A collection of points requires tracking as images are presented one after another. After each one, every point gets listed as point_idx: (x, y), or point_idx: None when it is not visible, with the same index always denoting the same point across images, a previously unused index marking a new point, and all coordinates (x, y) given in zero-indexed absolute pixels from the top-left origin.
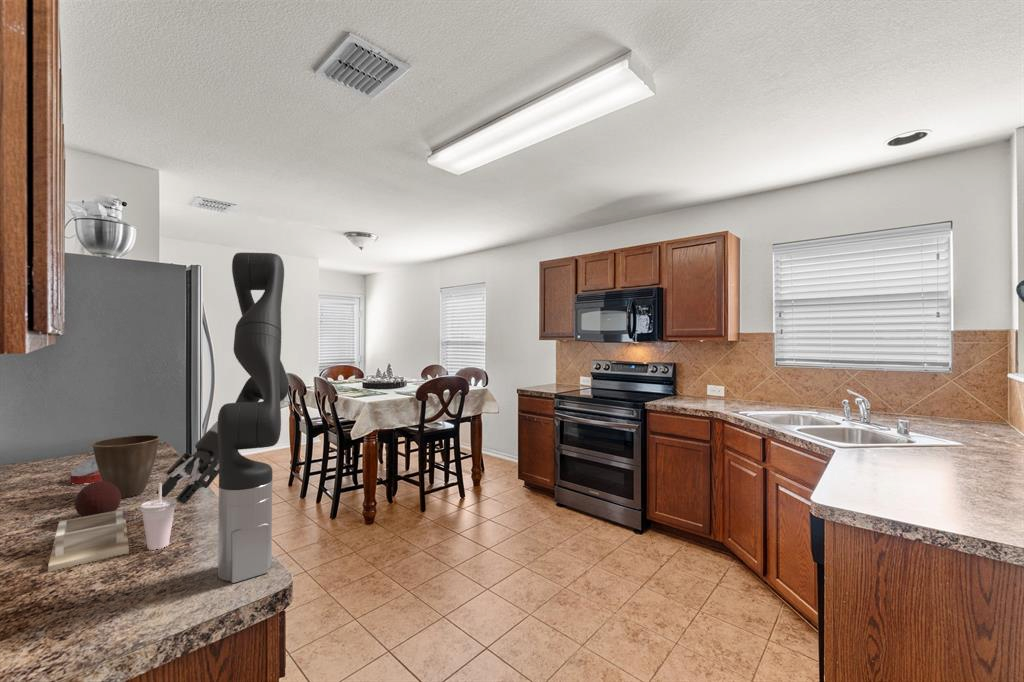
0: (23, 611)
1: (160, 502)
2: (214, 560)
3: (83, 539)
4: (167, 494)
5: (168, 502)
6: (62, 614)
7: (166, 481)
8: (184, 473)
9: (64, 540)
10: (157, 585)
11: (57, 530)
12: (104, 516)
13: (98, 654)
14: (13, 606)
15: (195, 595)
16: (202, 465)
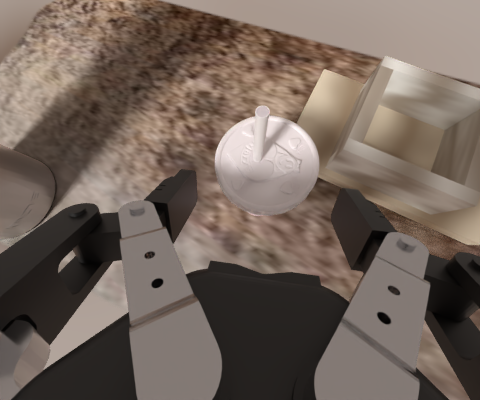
0: (218, 25)
1: (252, 156)
2: (97, 200)
3: (359, 103)
4: (333, 226)
5: (239, 176)
6: (164, 38)
7: (372, 217)
8: (349, 302)
9: (372, 76)
10: (116, 115)
11: (427, 71)
12: (464, 167)
13: (47, 22)
14: (244, 25)
15: (37, 119)
16: (109, 335)
